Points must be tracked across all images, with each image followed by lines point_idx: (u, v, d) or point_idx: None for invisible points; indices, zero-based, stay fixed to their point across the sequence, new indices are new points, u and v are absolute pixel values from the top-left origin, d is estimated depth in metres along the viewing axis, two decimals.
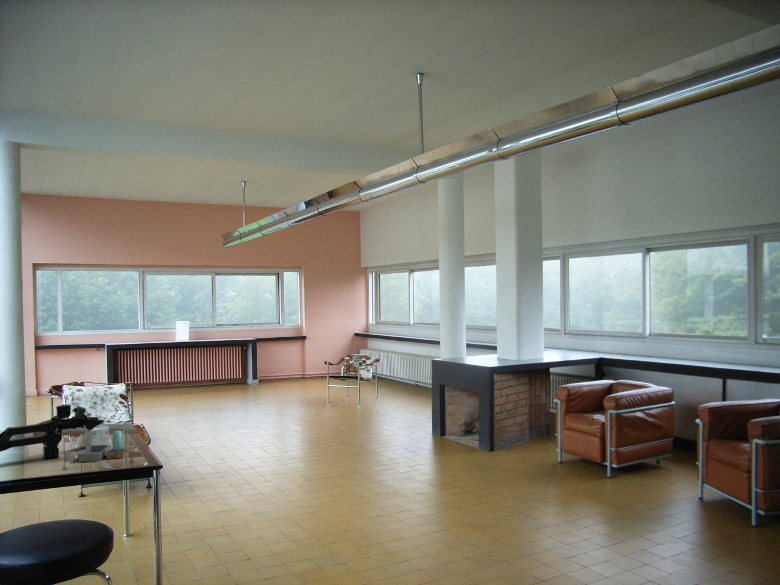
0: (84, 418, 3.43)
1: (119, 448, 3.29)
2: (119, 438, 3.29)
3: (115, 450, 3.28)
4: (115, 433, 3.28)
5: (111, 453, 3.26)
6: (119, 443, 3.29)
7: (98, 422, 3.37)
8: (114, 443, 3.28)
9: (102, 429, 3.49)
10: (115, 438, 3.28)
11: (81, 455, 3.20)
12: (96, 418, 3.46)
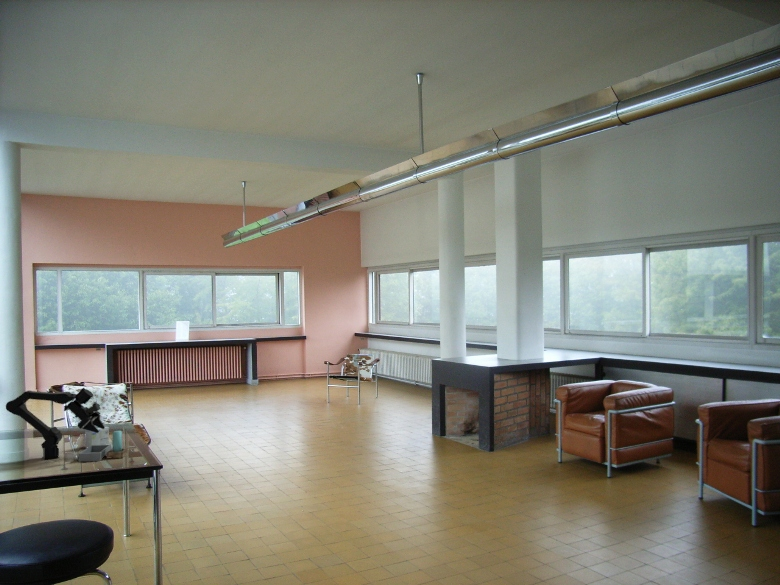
0: (95, 418, 3.34)
1: (119, 448, 3.29)
2: (119, 438, 3.29)
3: (115, 450, 3.28)
4: (115, 433, 3.28)
5: (111, 453, 3.26)
6: (119, 443, 3.29)
7: (92, 429, 3.24)
8: (114, 443, 3.28)
9: (102, 429, 3.49)
10: (115, 438, 3.28)
11: (81, 455, 3.20)
12: (102, 427, 3.34)
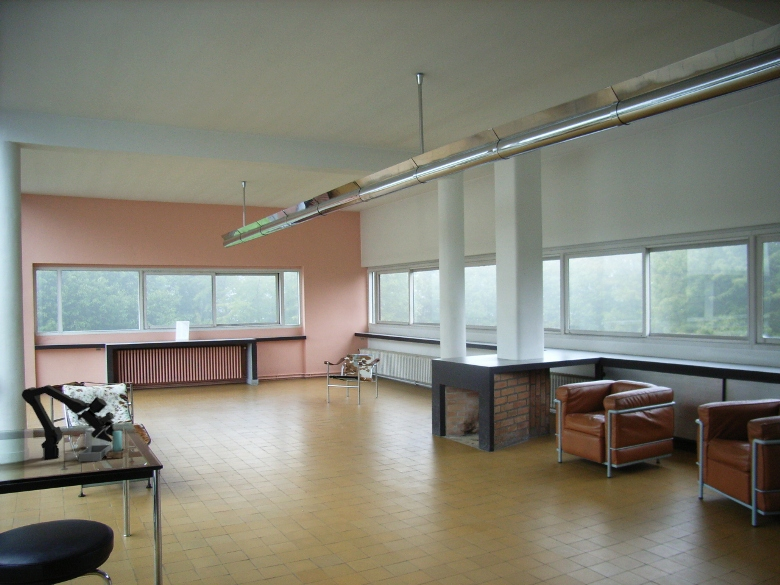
0: (109, 427, 3.35)
1: (119, 448, 3.29)
2: (119, 438, 3.29)
3: (115, 450, 3.28)
4: (115, 433, 3.28)
5: (111, 453, 3.26)
6: (119, 443, 3.29)
7: (106, 438, 3.24)
8: (114, 443, 3.28)
9: None
10: (115, 438, 3.28)
11: (81, 455, 3.20)
12: None
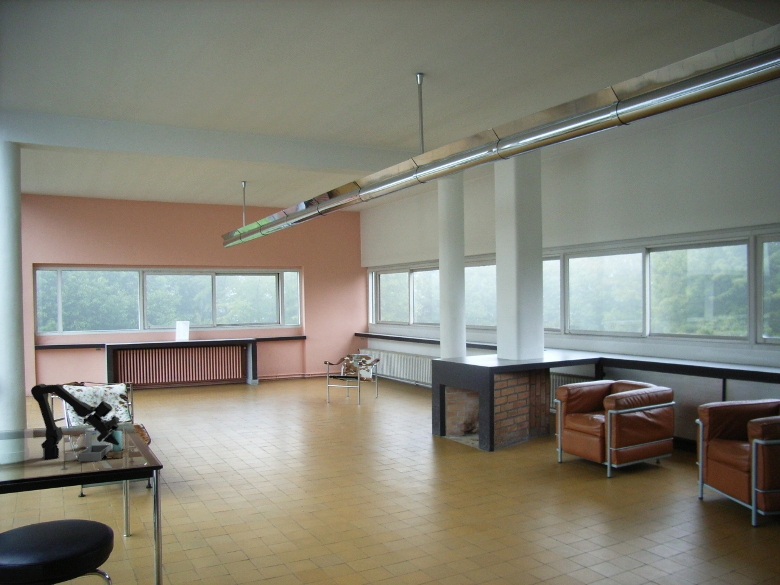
0: None
1: (119, 448, 3.29)
2: (119, 438, 3.29)
3: (115, 450, 3.28)
4: (115, 433, 3.28)
5: (111, 453, 3.26)
6: (119, 443, 3.29)
7: (113, 441, 3.27)
8: None
9: None
10: (115, 438, 3.28)
11: (81, 455, 3.20)
12: None
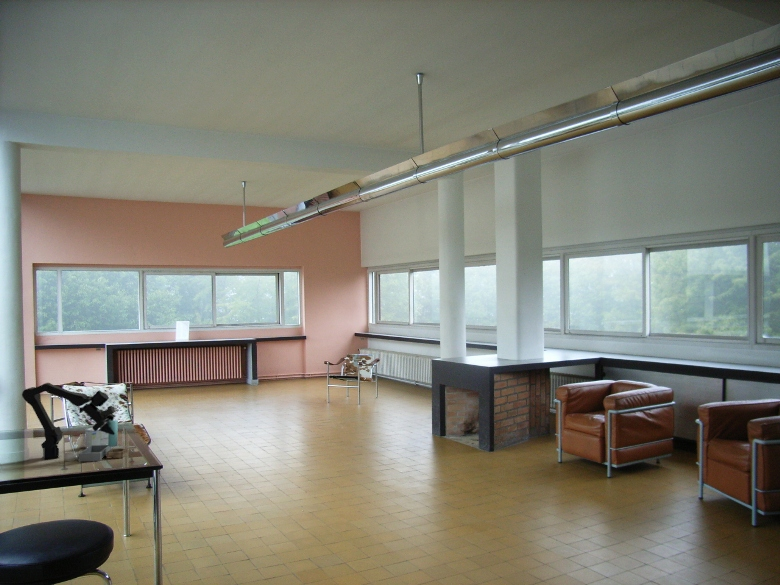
0: None
1: (115, 438, 3.29)
2: (115, 428, 3.29)
3: (111, 440, 3.28)
4: (111, 423, 3.28)
5: (111, 453, 3.26)
6: (115, 433, 3.29)
7: (108, 430, 3.26)
8: None
9: None
10: (111, 428, 3.28)
11: (81, 455, 3.20)
12: None
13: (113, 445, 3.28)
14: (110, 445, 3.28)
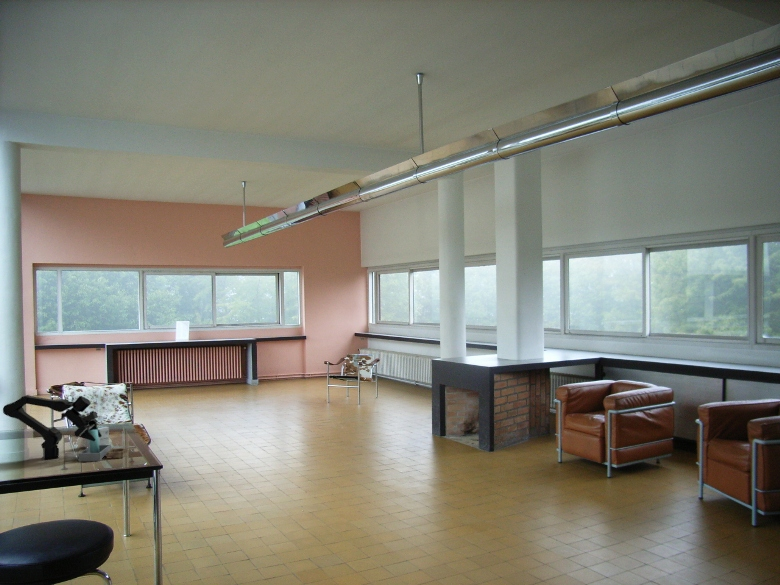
0: (93, 426, 3.34)
1: (96, 447, 3.28)
2: (95, 437, 3.27)
3: (92, 449, 3.27)
4: (91, 432, 3.27)
5: (111, 453, 3.26)
6: (96, 442, 3.28)
7: (89, 437, 3.23)
8: (91, 442, 3.27)
9: (102, 429, 3.49)
10: None
11: (81, 455, 3.20)
12: (99, 435, 3.33)
13: None
14: None
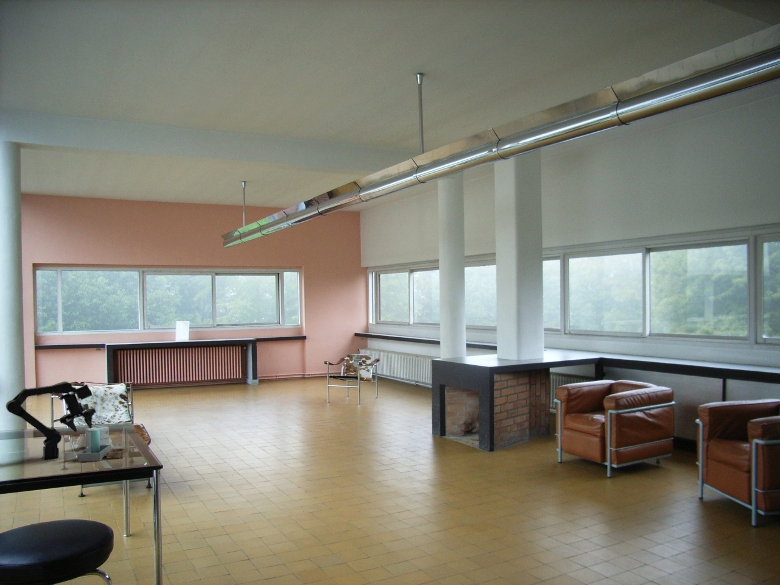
0: (71, 419, 3.36)
1: (97, 447, 3.28)
2: (97, 437, 3.28)
3: (93, 449, 3.27)
4: (93, 432, 3.27)
5: (111, 453, 3.26)
6: (97, 442, 3.28)
7: (90, 422, 3.34)
8: (92, 442, 3.27)
9: (102, 429, 3.49)
10: (93, 437, 3.27)
11: (81, 455, 3.20)
12: (76, 429, 3.36)
13: None
14: None
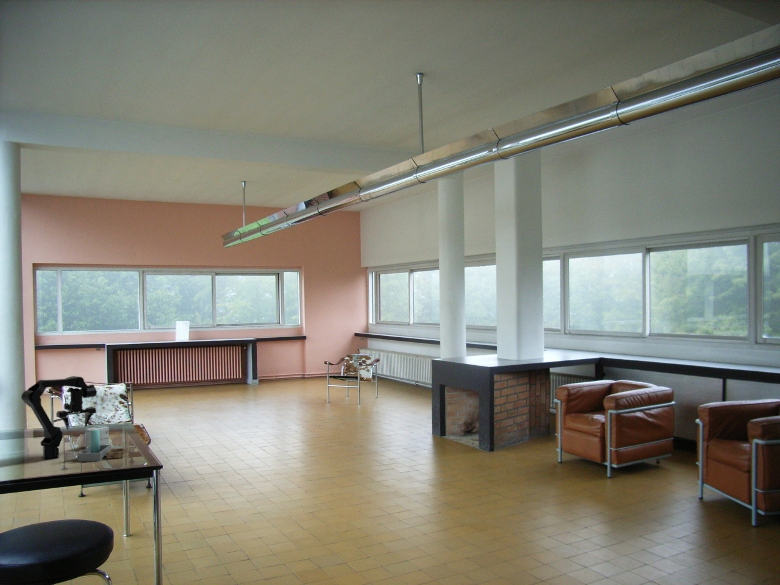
0: None
1: (97, 447, 3.28)
2: (97, 437, 3.28)
3: (93, 449, 3.27)
4: (93, 432, 3.27)
5: (111, 453, 3.26)
6: (97, 442, 3.28)
7: None
8: (92, 443, 3.27)
9: (102, 429, 3.49)
10: (93, 437, 3.27)
11: (81, 455, 3.20)
12: None
13: None
14: None
